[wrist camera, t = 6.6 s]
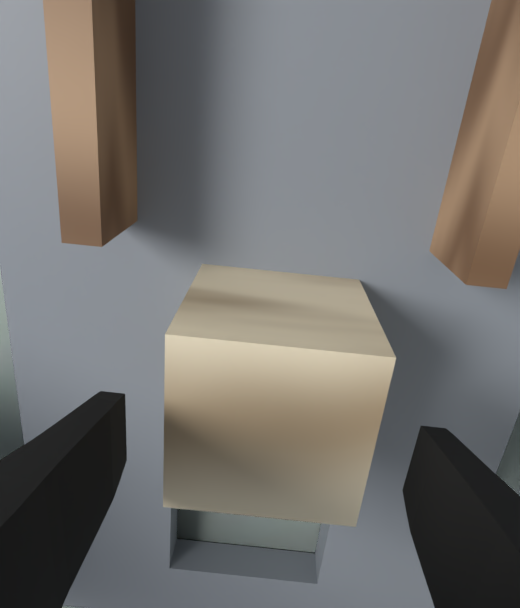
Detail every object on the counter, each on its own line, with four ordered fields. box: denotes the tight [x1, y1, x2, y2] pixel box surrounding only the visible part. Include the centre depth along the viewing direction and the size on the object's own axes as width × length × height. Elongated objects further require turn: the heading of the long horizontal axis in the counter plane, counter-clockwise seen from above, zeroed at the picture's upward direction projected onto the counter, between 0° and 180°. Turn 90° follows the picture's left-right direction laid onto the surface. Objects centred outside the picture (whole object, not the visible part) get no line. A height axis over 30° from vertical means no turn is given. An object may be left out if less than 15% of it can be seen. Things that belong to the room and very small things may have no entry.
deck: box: [0, 0, 520, 608], centre depth 15 cm, size 34×18×2 cm, turn 175°
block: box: [163, 264, 396, 527], centre depth 13 cm, size 5×5×5 cm
